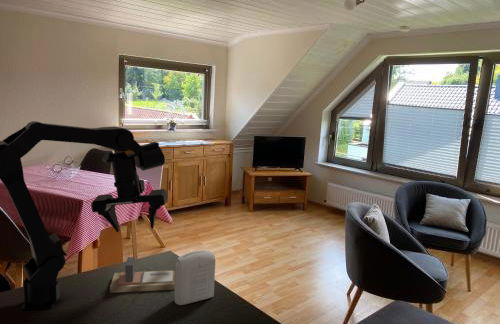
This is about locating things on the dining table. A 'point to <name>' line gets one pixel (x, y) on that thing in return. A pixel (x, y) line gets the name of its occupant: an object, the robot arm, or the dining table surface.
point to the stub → (130, 273)
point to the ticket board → (146, 282)
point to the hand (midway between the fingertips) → (135, 229)
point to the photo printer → (194, 277)
